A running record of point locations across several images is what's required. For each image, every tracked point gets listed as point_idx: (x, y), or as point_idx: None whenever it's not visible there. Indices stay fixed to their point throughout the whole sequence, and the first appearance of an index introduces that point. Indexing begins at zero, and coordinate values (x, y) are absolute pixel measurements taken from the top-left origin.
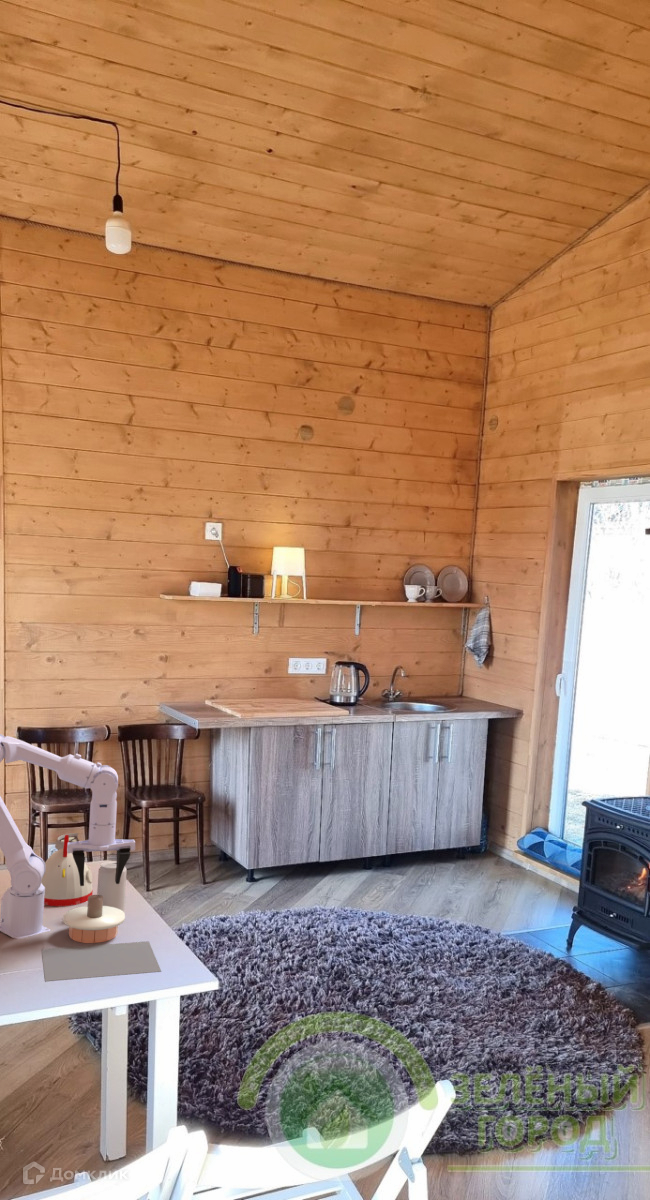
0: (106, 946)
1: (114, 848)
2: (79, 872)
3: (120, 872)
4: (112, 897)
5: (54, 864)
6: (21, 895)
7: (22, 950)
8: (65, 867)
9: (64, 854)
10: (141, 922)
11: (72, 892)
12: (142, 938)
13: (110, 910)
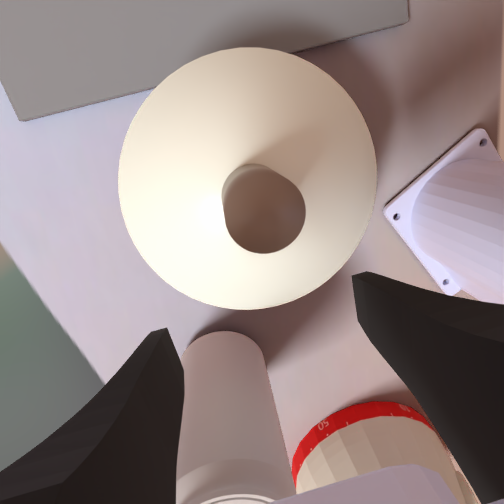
0: (175, 55)
1: None
2: (435, 293)
3: (124, 373)
4: (212, 375)
5: None
6: None
7: (463, 42)
8: None
9: None
10: (111, 320)
11: (350, 444)
12: (67, 180)
13: (197, 262)
